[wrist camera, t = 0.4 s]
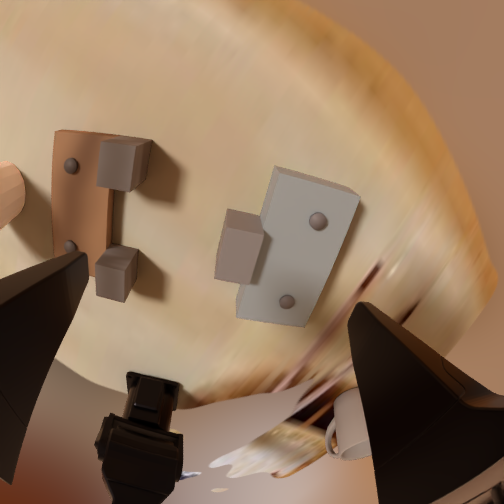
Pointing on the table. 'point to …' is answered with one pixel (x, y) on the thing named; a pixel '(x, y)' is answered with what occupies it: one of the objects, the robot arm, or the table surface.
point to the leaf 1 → (96, 202)
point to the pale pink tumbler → (10, 192)
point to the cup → (349, 428)
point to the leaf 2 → (285, 247)
